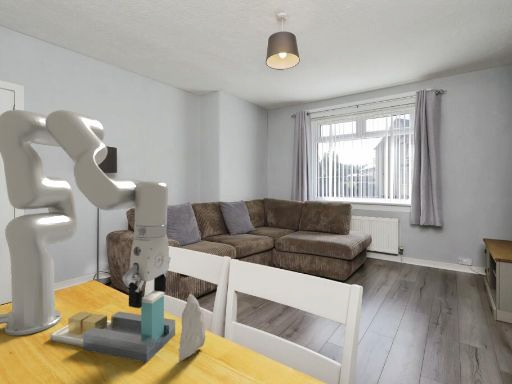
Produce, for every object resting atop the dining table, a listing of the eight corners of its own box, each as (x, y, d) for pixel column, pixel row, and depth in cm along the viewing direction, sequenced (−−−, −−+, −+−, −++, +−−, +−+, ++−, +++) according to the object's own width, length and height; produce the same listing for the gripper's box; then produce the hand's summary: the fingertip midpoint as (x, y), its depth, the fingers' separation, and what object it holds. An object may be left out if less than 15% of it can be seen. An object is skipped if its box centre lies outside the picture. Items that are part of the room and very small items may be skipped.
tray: (50, 340, 71) (50, 334, 71) (83, 321, 81) (83, 316, 81) (84, 347, 68) (84, 341, 68) (115, 326, 78) (114, 321, 78)
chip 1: (68, 332, 74) (68, 318, 73) (81, 325, 77) (81, 311, 77) (80, 335, 73) (80, 320, 72) (93, 327, 76) (93, 313, 76)
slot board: (83, 349, 67) (82, 333, 67) (119, 325, 79) (119, 311, 79) (147, 362, 63) (147, 345, 63) (175, 334, 74) (175, 319, 74)
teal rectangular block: (140, 342, 67) (140, 298, 67) (153, 331, 72) (153, 290, 72) (152, 344, 66) (151, 300, 66) (164, 333, 71) (164, 292, 71)
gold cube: (82, 335, 72) (82, 320, 72) (95, 327, 76) (95, 313, 76) (95, 337, 71) (95, 322, 71) (107, 330, 75) (107, 315, 75)
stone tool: (184, 367, 61) (184, 301, 61) (174, 363, 63) (174, 298, 62) (209, 347, 69) (209, 288, 68) (199, 344, 70) (199, 285, 70)
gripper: (140, 239, 59) (138, 317, 60) (182, 227, 76) (179, 288, 77) (111, 236, 61) (109, 311, 62) (158, 224, 78) (155, 284, 78)
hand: (148, 298), depth 69 cm, fingers open, 9 cm apart
